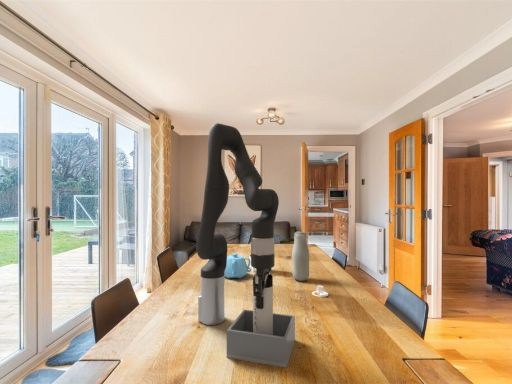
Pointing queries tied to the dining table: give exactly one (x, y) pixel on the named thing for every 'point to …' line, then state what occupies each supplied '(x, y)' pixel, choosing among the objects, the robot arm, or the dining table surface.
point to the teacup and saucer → (320, 291)
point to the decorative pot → (236, 266)
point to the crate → (261, 340)
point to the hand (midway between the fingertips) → (262, 304)
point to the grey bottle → (300, 257)
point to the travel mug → (264, 310)
